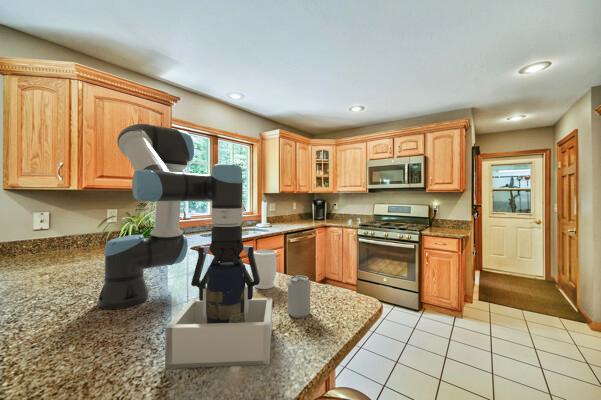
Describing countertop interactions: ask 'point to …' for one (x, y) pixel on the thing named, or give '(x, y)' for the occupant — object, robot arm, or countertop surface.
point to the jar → (266, 267)
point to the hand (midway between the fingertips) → (226, 312)
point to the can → (299, 296)
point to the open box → (219, 338)
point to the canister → (225, 293)
